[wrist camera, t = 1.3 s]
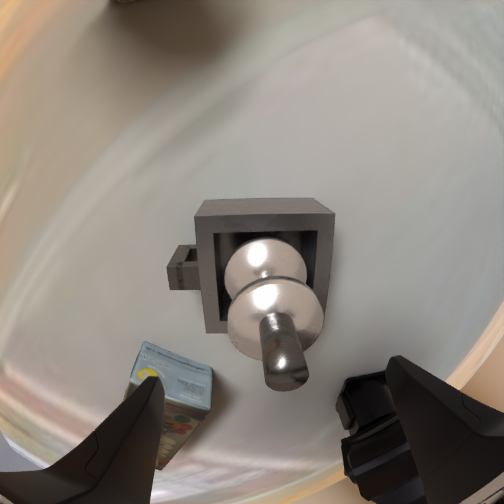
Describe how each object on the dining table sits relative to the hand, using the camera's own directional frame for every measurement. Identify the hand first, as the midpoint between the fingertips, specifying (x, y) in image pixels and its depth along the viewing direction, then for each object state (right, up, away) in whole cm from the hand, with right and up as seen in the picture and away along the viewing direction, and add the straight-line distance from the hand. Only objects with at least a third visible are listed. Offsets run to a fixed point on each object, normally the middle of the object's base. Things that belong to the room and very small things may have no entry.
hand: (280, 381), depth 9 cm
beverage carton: (-12, -13, +19) cm, 26 cm away
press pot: (-1, +5, +12) cm, 13 cm away
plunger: (0, +3, +8) cm, 9 cm away
